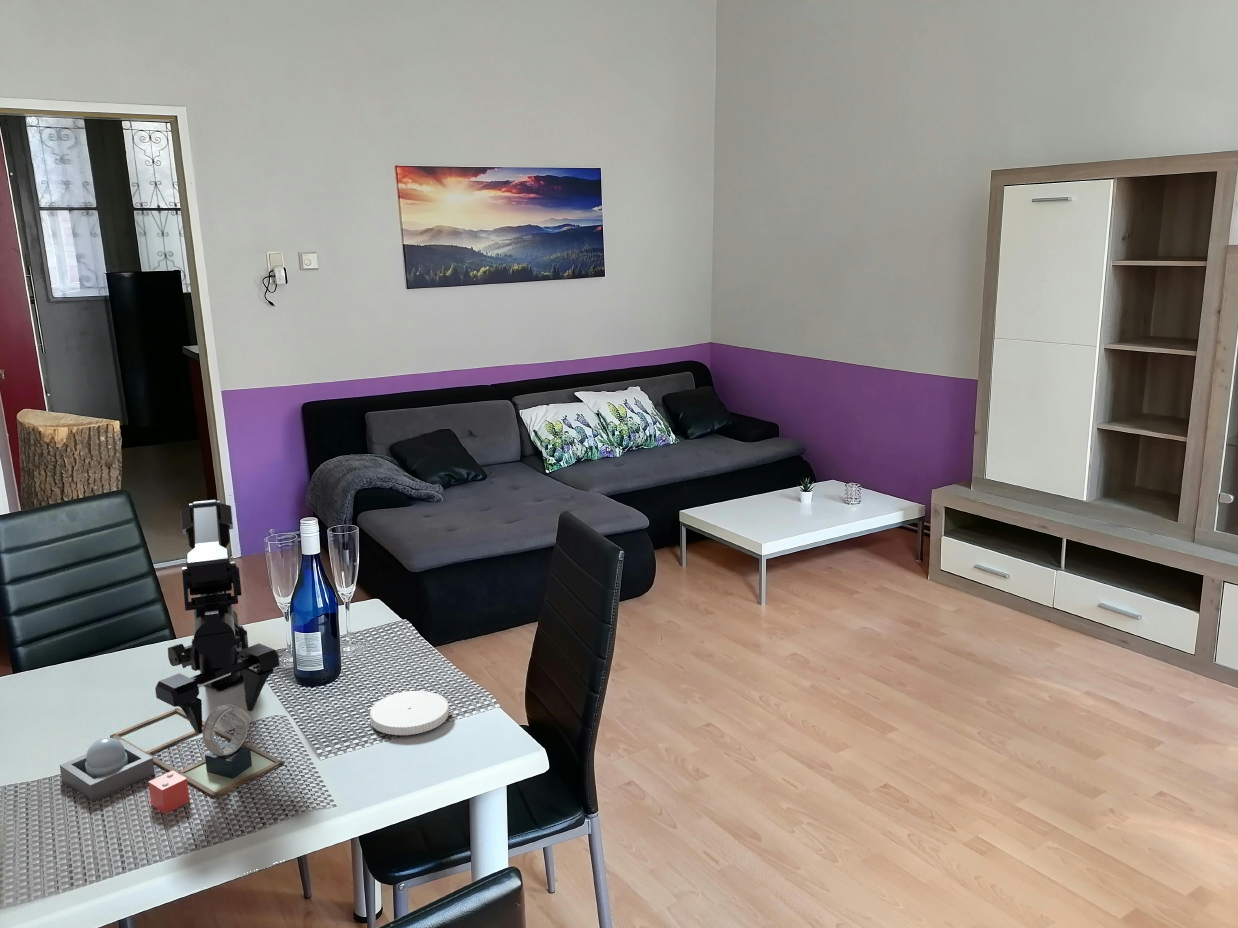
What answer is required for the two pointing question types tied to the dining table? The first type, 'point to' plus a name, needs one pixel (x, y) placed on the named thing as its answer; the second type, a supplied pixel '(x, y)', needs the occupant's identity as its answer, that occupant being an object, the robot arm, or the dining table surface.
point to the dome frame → (111, 782)
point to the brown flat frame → (198, 772)
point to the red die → (169, 791)
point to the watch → (228, 755)
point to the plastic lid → (409, 712)
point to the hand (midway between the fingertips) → (224, 721)
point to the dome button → (105, 757)
